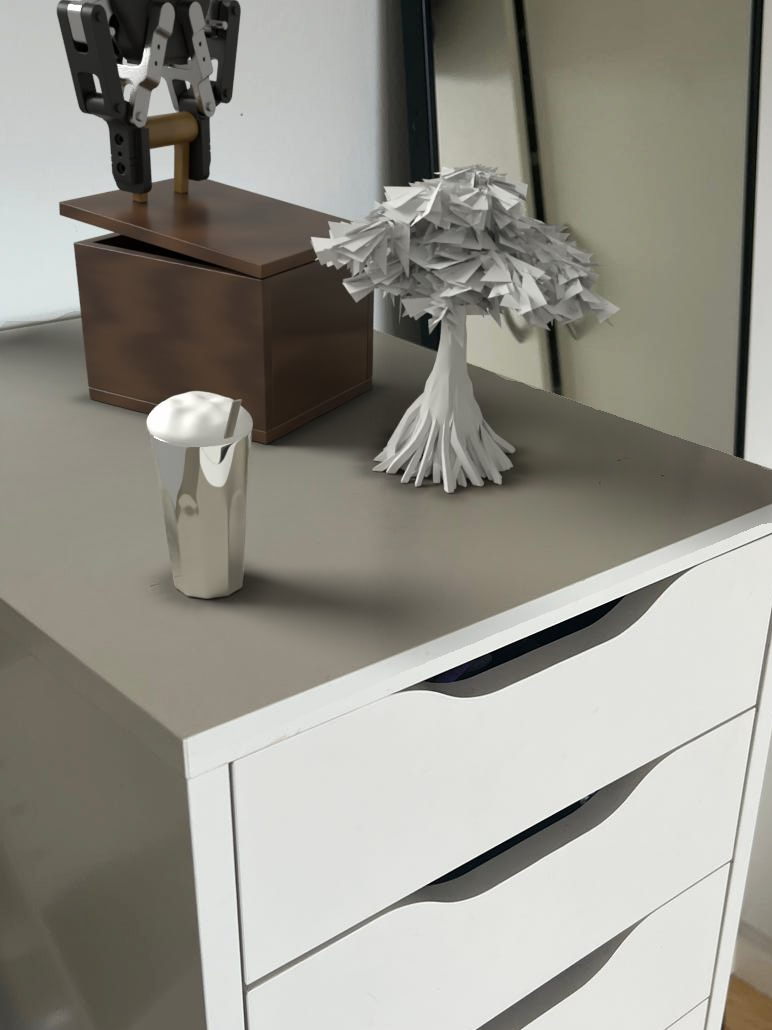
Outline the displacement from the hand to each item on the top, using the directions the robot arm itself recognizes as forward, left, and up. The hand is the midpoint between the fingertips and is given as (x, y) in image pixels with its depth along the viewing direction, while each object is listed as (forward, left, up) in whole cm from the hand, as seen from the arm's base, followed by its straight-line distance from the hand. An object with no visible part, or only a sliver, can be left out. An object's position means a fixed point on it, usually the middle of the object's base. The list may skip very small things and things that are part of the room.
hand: (163, 183), depth 76 cm
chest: (+5, 0, -13) cm, 13 cm away
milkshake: (+20, -22, -13) cm, 33 cm away
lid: (+4, 0, -2) cm, 5 cm away
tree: (+22, -2, -13) cm, 25 cm away
